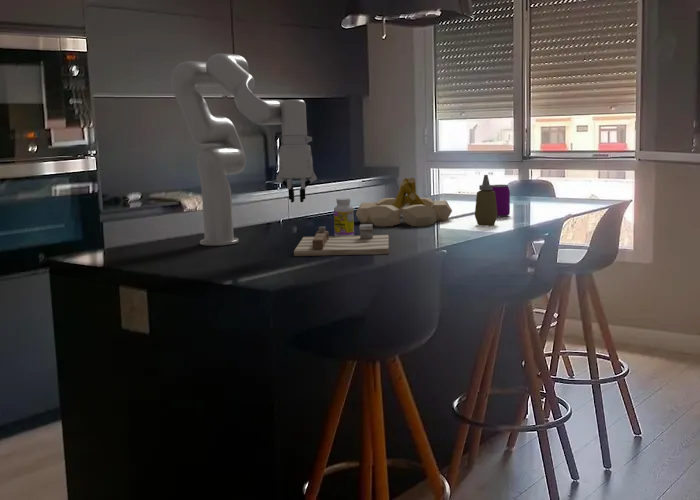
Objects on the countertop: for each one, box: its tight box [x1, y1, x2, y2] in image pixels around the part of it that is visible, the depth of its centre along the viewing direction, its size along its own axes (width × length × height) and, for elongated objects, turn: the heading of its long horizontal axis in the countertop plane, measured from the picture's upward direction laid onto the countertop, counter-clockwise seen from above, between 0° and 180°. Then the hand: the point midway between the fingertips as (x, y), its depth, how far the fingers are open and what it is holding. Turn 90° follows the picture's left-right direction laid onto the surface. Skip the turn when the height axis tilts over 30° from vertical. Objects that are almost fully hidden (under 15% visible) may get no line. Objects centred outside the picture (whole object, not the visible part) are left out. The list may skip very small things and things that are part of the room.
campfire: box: [355, 176, 453, 227], centre depth 314 cm, size 35×34×17 cm
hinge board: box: [293, 223, 390, 257], centre depth 258 cm, size 28×28×6 cm
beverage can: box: [492, 184, 511, 218], centre depth 320 cm, size 8×8×12 cm
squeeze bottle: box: [474, 174, 498, 227], centre depth 296 cm, size 8×8×18 cm
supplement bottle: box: [333, 197, 355, 236], centre depth 280 cm, size 7×7×13 cm
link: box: [312, 230, 330, 249], centre depth 256 cm, size 20×4×2 cm, turn 177°
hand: (297, 201), depth 253 cm, fingers closed
